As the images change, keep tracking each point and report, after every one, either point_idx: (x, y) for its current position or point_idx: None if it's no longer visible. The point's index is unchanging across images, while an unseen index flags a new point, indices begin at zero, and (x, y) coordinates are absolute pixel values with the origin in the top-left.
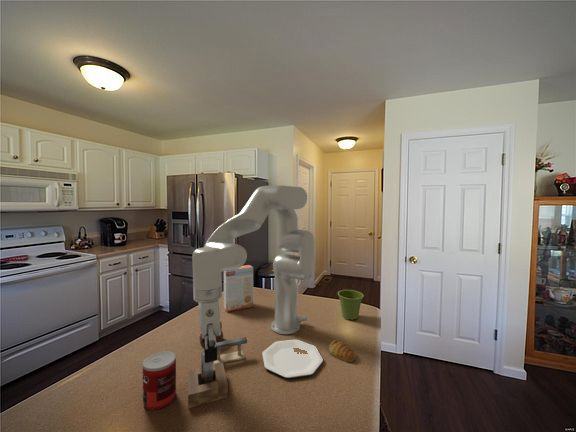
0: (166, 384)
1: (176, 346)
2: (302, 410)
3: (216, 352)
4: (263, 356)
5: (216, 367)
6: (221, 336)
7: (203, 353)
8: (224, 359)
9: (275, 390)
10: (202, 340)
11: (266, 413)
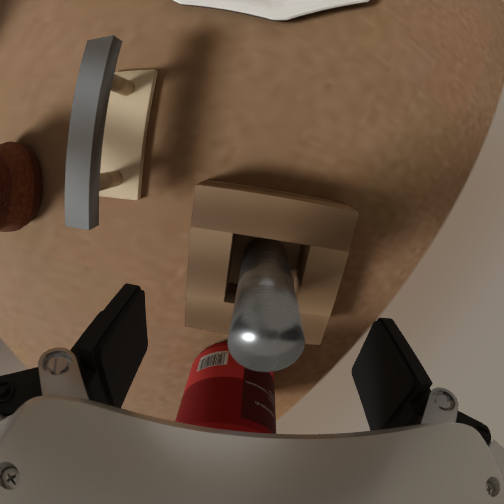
0: (273, 409)
1: (25, 291)
2: (472, 59)
3: (410, 353)
4: (206, 3)
5: (217, 222)
6: (16, 151)
7: (256, 361)
8: (129, 154)
9: (393, 54)
10: (139, 358)
11: (451, 132)
